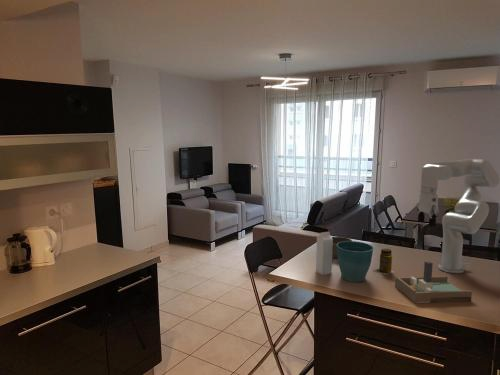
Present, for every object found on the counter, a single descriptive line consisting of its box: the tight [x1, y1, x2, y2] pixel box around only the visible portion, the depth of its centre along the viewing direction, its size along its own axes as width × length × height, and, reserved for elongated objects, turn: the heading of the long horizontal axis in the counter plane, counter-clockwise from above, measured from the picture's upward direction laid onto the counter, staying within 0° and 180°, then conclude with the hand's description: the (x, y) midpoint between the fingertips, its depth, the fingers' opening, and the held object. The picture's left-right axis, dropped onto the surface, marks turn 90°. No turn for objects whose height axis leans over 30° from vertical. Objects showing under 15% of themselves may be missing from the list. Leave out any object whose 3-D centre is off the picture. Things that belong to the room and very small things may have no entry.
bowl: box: [331, 236, 353, 259], centre depth 221 cm, size 17×18×10 cm
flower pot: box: [337, 240, 375, 283], centre depth 184 cm, size 18×18×17 cm
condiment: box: [373, 248, 395, 276], centre depth 194 cm, size 7×8×12 cm
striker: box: [418, 261, 440, 291], centre depth 166 cm, size 9×5×13 cm, turn 95°
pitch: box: [394, 275, 473, 304], centre depth 167 cm, size 26×18×5 cm
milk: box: [315, 231, 333, 276], centre depth 192 cm, size 6×6×22 cm
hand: (426, 223), depth 183 cm, fingers open, 9 cm apart
